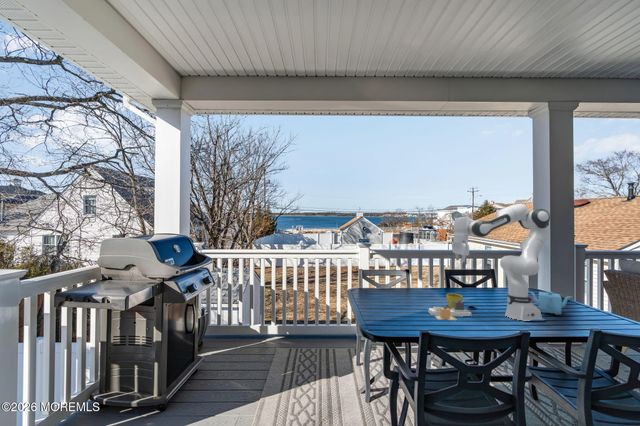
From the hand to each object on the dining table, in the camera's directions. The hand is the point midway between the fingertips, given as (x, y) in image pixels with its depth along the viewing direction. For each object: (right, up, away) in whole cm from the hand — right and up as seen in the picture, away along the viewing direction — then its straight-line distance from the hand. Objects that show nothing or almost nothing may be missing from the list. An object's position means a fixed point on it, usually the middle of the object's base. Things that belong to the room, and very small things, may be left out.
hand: (460, 261), depth 221 cm
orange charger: (-15, -33, -13) cm, 39 cm away
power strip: (-9, -34, -4) cm, 35 cm away
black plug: (-3, -32, -4) cm, 32 cm away
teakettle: (+63, -37, +6) cm, 73 cm away
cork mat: (-15, -34, -13) cm, 39 cm away
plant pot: (-1, -35, +9) cm, 35 cm away
